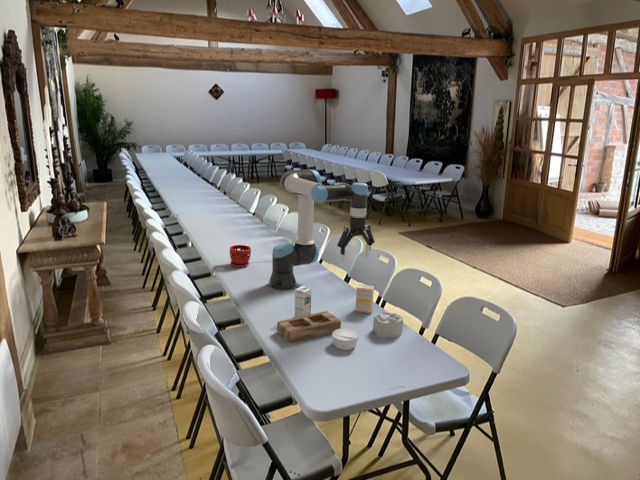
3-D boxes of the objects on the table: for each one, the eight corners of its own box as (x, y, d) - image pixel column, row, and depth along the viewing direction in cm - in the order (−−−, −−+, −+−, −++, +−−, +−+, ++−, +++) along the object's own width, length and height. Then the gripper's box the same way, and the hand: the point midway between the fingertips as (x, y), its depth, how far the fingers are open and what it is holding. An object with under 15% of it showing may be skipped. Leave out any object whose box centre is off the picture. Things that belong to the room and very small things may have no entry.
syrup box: (303, 320, 224) (304, 291, 220) (293, 317, 227) (294, 288, 223) (310, 316, 228) (311, 288, 224) (301, 313, 232) (301, 285, 228)
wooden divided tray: (277, 332, 211) (277, 321, 210) (326, 320, 224) (326, 310, 223) (290, 343, 201) (290, 332, 200) (340, 330, 215) (341, 320, 213)
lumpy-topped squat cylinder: (370, 328, 219) (372, 311, 216) (396, 325, 222) (398, 308, 220) (379, 338, 209) (381, 320, 207) (406, 336, 213) (408, 318, 210)
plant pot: (236, 270, 289) (236, 251, 286) (226, 264, 298) (225, 246, 295) (254, 266, 297) (254, 248, 294) (244, 261, 307) (244, 243, 303)
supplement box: (372, 310, 238) (374, 286, 235) (371, 314, 234) (372, 289, 230) (356, 308, 240) (358, 283, 237) (354, 311, 236) (356, 287, 233)
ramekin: (336, 353, 195) (336, 341, 194) (328, 340, 205) (328, 329, 204) (361, 350, 198) (362, 338, 197) (352, 338, 209) (353, 327, 207)
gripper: (340, 220, 212) (338, 264, 218) (383, 215, 225) (380, 258, 230) (331, 216, 218) (329, 260, 224) (374, 212, 231) (371, 253, 236)
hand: (355, 259), depth 227 cm, fingers open, 13 cm apart
